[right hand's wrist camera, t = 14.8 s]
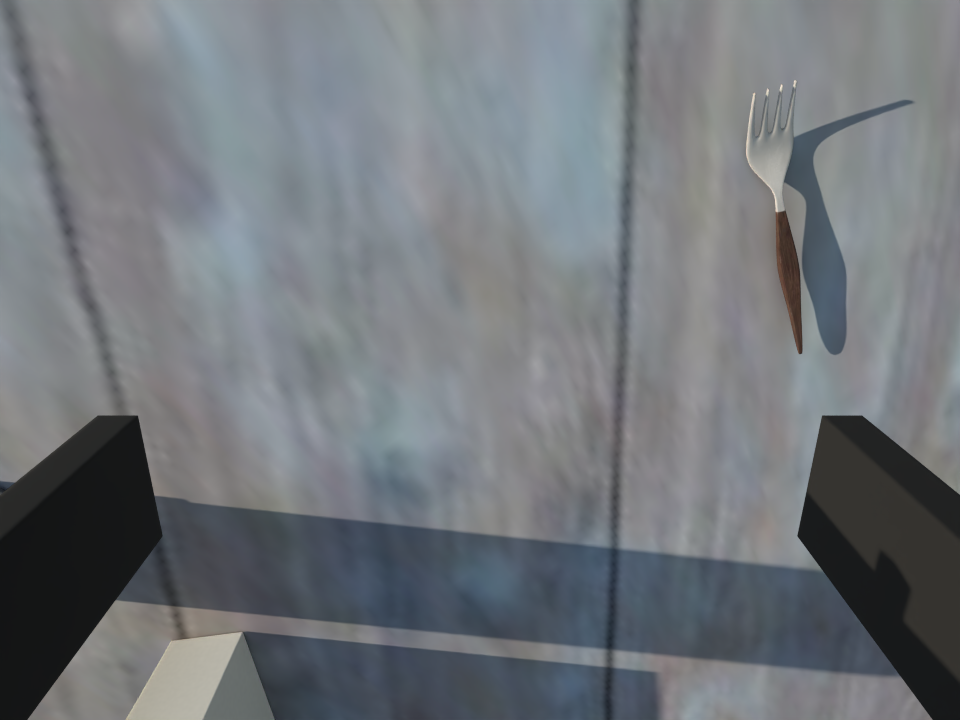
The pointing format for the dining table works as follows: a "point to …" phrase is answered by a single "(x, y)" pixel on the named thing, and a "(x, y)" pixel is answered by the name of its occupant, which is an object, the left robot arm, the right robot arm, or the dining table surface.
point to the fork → (778, 197)
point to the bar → (204, 683)
